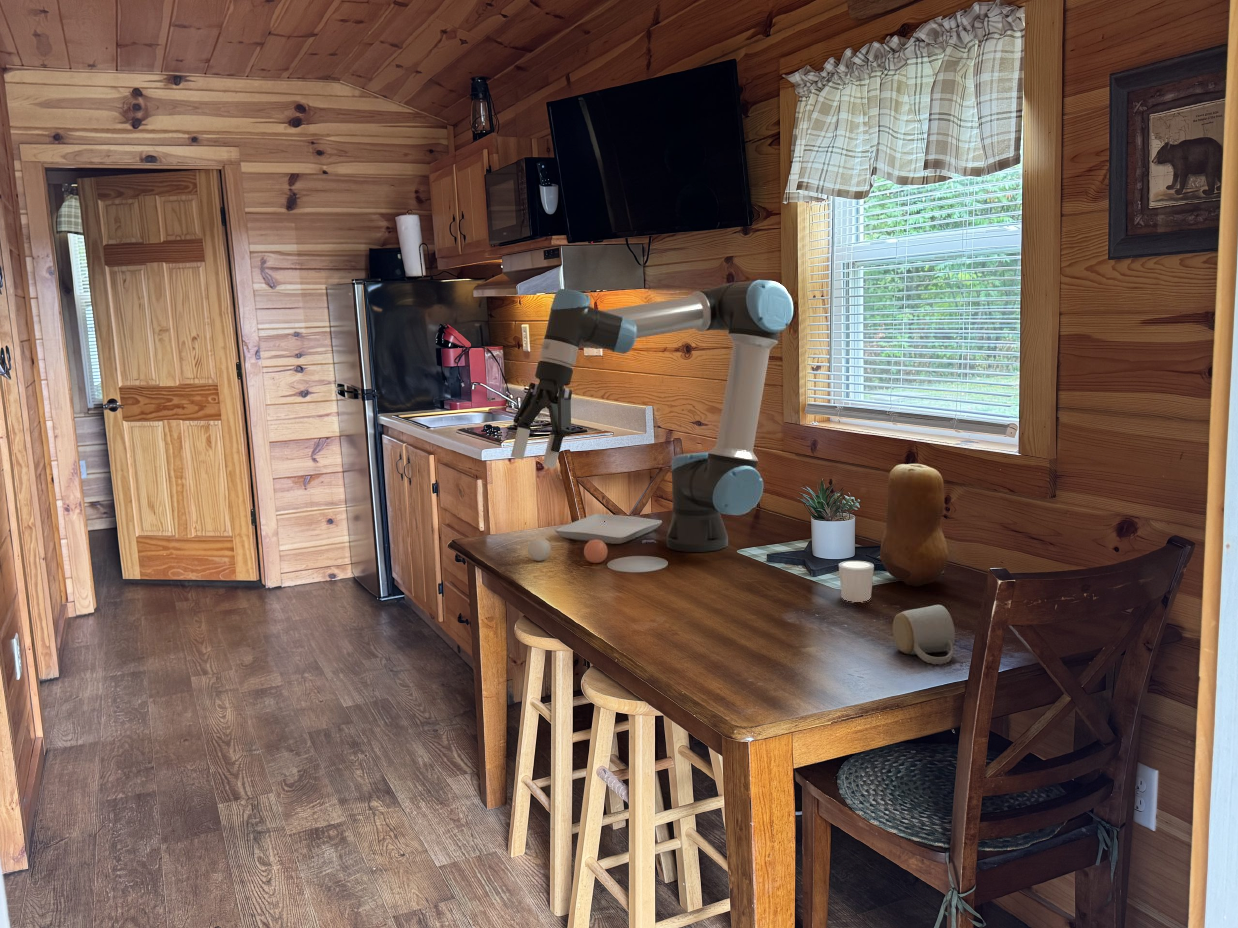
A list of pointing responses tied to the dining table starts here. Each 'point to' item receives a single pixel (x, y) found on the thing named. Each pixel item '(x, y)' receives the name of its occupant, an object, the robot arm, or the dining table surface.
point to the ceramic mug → (925, 632)
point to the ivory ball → (539, 549)
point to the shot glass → (856, 580)
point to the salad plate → (608, 528)
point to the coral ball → (595, 551)
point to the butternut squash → (914, 525)
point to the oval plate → (637, 564)
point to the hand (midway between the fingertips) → (532, 462)
